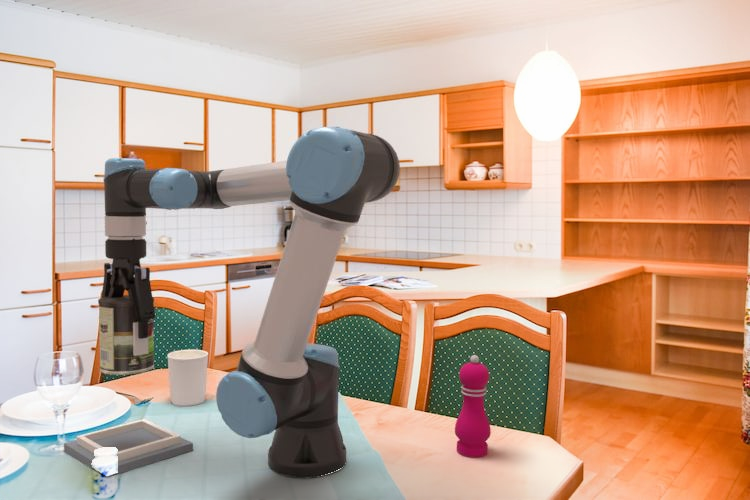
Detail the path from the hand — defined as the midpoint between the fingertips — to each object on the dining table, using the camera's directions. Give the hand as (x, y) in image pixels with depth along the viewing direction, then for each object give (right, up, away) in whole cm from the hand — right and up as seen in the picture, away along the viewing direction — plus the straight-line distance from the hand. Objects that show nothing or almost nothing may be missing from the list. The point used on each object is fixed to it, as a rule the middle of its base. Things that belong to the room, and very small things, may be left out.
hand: (127, 349), depth 130 cm
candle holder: (+2, -18, +34) cm, 39 cm away
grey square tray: (0, -20, +1) cm, 21 cm away
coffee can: (0, -4, 0) cm, 4 cm away
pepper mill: (+69, -22, +4) cm, 72 cm away
